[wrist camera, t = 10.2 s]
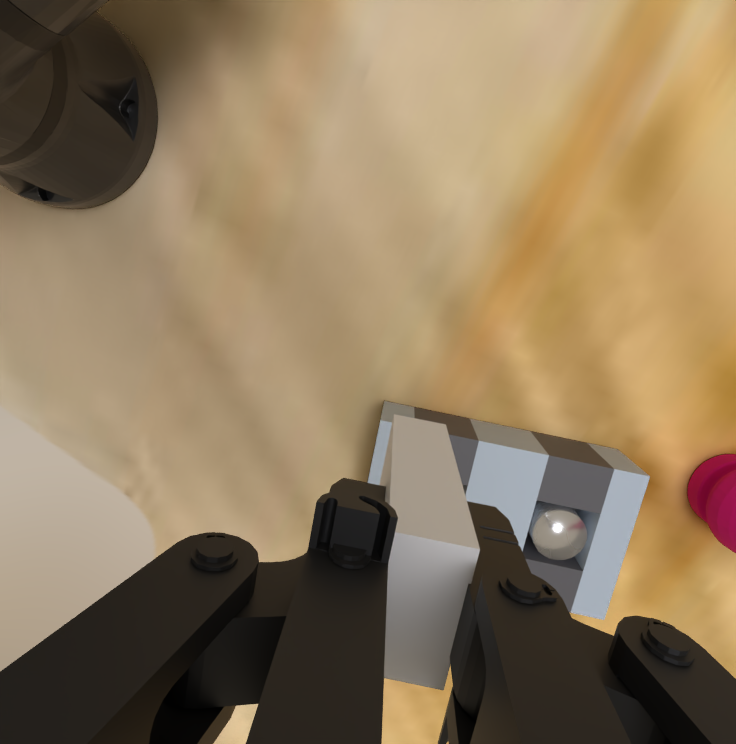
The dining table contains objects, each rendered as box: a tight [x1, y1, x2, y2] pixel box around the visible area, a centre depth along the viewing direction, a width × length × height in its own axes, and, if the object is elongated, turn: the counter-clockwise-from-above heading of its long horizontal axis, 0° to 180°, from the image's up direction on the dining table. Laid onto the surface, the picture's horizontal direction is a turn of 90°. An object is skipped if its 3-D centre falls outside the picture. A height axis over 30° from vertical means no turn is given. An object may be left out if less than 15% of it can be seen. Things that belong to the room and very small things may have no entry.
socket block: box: [367, 401, 650, 620], centre depth 42 cm, size 20×12×6 cm, turn 79°
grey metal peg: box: [528, 500, 587, 560], centre depth 42 cm, size 4×4×6 cm
